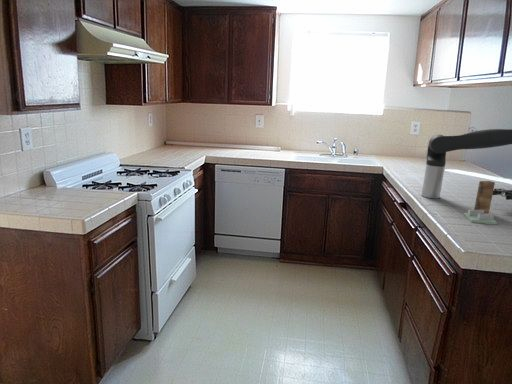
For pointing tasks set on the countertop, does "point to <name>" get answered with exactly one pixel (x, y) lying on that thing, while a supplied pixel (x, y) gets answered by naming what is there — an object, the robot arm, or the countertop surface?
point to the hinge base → (474, 219)
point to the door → (484, 195)
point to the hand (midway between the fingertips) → (498, 195)
